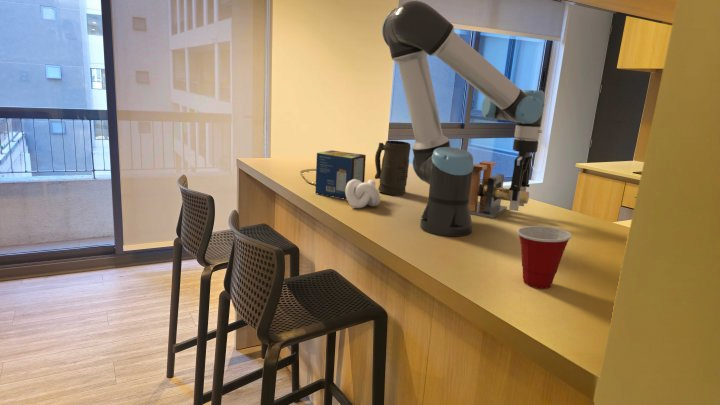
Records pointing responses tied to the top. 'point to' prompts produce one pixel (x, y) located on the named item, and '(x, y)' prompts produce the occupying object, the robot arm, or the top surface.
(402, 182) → the beer stein
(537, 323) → the top surface
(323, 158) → the protein box
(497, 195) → the tube
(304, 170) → the beaded necklace
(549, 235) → the plastic cup
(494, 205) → the wooden stand
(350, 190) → the white knot sculpture
